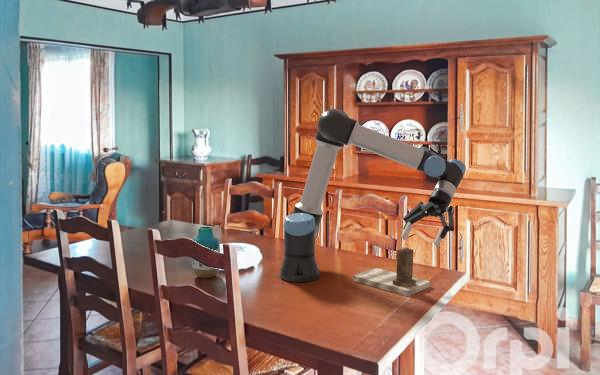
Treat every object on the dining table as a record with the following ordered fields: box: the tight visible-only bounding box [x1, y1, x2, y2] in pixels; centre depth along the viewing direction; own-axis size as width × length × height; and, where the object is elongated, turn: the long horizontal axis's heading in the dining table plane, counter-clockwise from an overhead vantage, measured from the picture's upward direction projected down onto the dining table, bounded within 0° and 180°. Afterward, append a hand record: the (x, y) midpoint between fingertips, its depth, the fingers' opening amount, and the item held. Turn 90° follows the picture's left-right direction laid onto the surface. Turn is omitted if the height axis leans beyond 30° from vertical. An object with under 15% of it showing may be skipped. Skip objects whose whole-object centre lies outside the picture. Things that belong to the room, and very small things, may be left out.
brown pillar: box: [393, 246, 416, 288], centre depth 191 cm, size 6×6×13 cm
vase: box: [191, 225, 221, 279], centre depth 205 cm, size 11×11×19 cm
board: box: [352, 267, 431, 297], centre depth 198 cm, size 24×14×2 cm, turn 46°
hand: (419, 241), depth 195 cm, fingers open, 13 cm apart
